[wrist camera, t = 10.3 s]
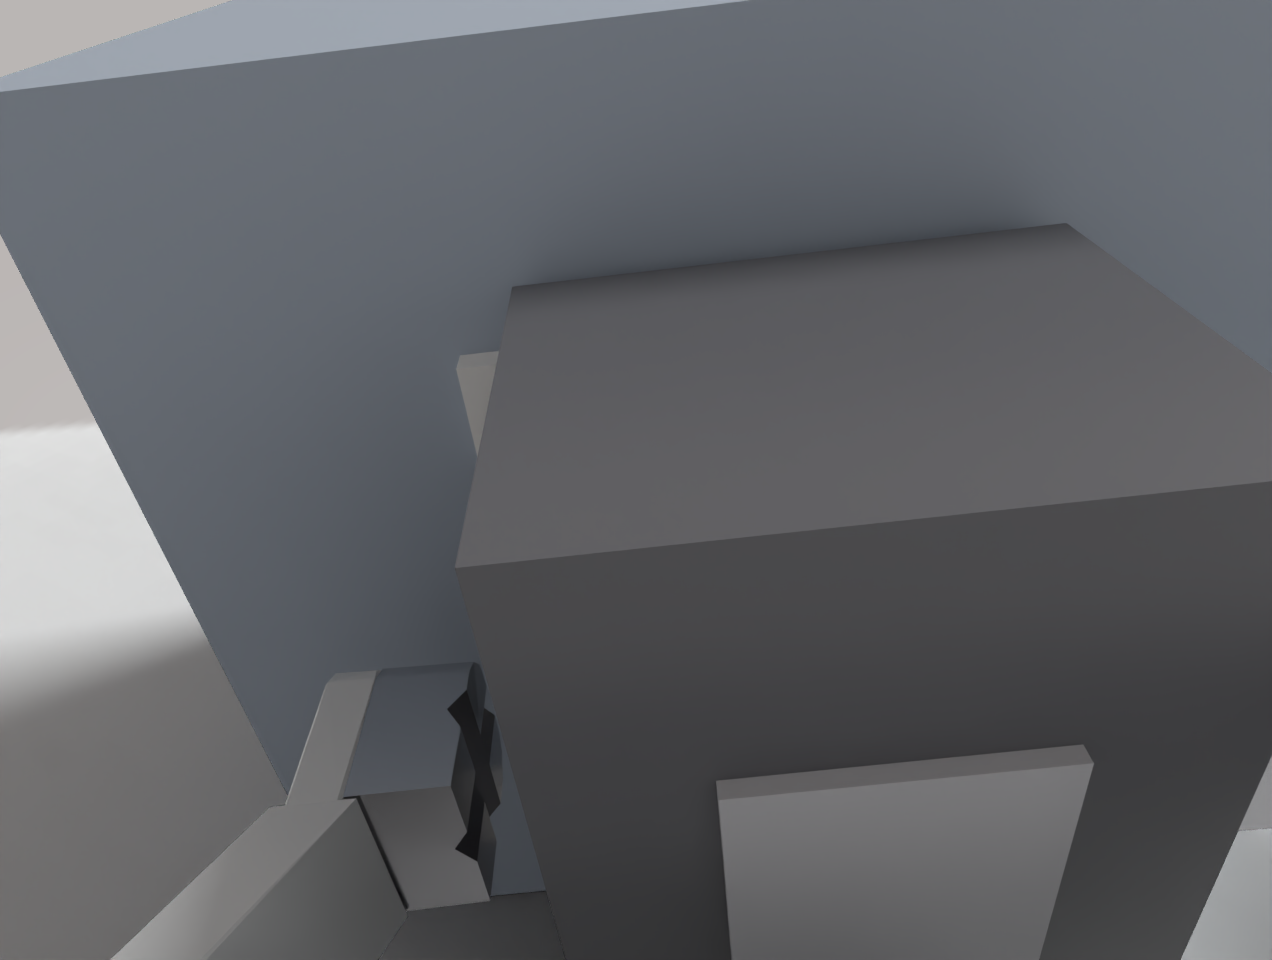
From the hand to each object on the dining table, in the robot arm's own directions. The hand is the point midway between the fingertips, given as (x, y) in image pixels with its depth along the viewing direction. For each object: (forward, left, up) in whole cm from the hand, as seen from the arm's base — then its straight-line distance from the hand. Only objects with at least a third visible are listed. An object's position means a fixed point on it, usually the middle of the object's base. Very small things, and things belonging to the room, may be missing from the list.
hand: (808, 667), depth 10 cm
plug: (0, +1, -6) cm, 6 cm away
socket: (0, +6, -6) cm, 8 cm away
